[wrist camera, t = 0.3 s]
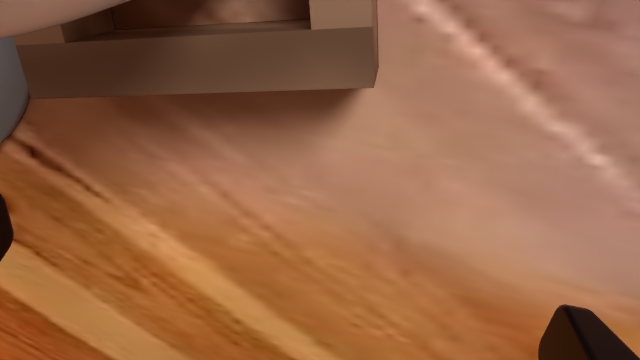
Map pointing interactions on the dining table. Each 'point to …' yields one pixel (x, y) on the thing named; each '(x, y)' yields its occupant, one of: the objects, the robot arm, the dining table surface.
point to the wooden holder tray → (205, 55)
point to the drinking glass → (46, 14)
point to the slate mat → (11, 88)
